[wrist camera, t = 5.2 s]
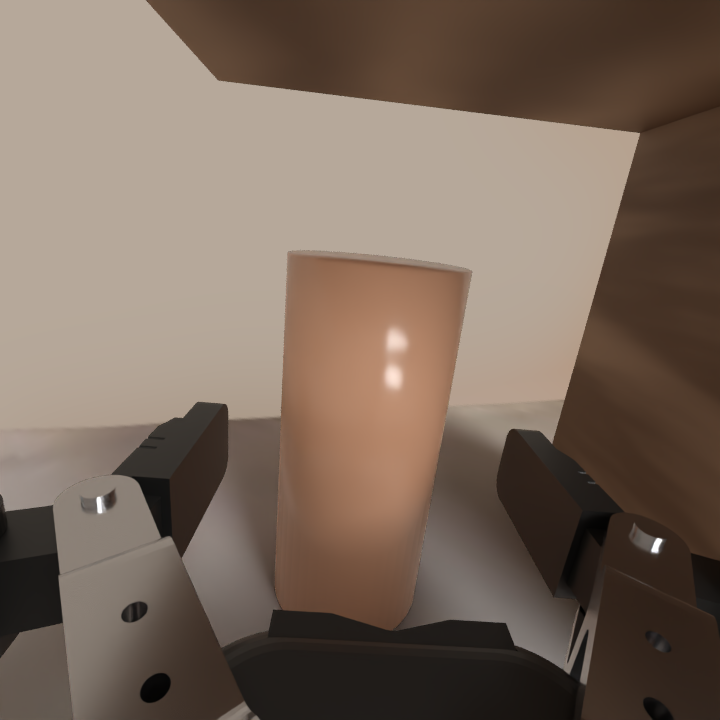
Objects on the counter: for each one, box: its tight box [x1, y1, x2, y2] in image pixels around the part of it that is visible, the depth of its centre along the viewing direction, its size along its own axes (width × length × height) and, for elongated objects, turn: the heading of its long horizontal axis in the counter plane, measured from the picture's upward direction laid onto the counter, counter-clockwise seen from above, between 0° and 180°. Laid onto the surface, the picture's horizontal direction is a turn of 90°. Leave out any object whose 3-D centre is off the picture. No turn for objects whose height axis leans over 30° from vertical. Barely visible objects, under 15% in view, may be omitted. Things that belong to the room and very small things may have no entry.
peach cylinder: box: [274, 251, 472, 631], centre depth 14 cm, size 5×5×12 cm
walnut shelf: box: [146, 0, 720, 561], centre depth 13 cm, size 20×14×20 cm
